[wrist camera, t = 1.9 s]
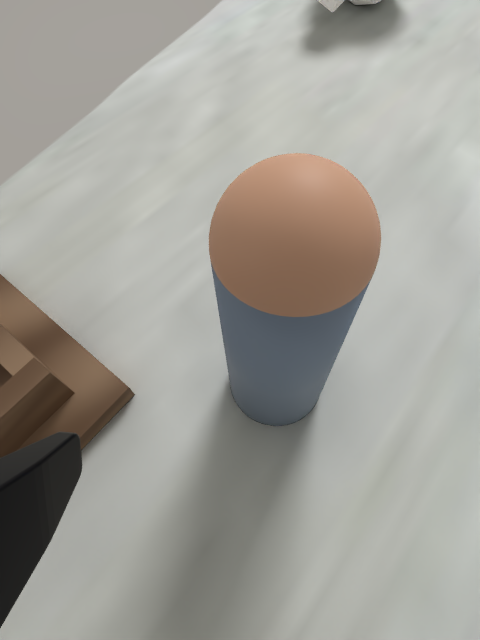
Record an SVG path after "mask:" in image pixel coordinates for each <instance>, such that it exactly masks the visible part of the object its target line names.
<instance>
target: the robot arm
mask: <svg viewBox="0 0 480 640" xmlns="http://www.w3.org/2000/svg"><path fill="white" fill-rule="evenodd" d="M81 471H82V457H81V444H80V437H79V435H78V434H77V433H71V432H57V433H55V434H53V435H50V436H48V437H46V438H44V439H41V440H39V441H37V442H35V443H32V444H30V445H28V446H26V447H24V448H21V449H19V450H17V451H15V452H12V453H10V454H8V455H6V456H3V457H1V458H0V628H1V626H2V624H3V623H4V621H5V619H6V617H7V616H8V614H9V612H10V610H11V609H12V607H13V605H14V604H15V602H16V600H17V598H18V597H19V595H20V593H21V592H22V590H23V588H24V586H25V585H26V583H27V581H28V579H29V578H30V576H31V574H32V573H33V571H34V569H35V567H36V566H37V564H38V562H39V561H40V559H41V557H42V555H43V554H44V552H45V550H46V548H47V546H48V545H49V543H50V541H51V539H52V537H53V535H54V533H55V531H56V528H57V526H58V524H59V522H60V520H61V517H62V515H63V513H64V511H65V509H66V506H67V504H68V502H69V500H70V498H71V495H72V493H73V491H74V489H75V486H76V484H77V482H78V480H79V478H80V475H81Z"/></svg>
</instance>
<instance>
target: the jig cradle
mask: <svg viewBox="0 0 480 640" xmlns="http://www.w3.org/2000/svg"><path fill="white" fill-rule="evenodd" d="M134 395H135V394H134V393H133V392H132V391H131V389H130V388H129V387H128V386H127V385H126V384H124V383H123V382H122V381H121V380H120V379H119V378H118V377H116V376H115V375H114V374H113V373H112V372H111V371H110V370H108V369H107V368H106V367H105V366H104V365H103V364H102V363H101V362H99V361H98V360H97V359H96V358H95V357H94V356H93V355H91V354H90V353H89V352H88V351H87V350H86V349H85V348H83V347H82V346H81V345H80V344H79V343H78V342H77V341H76V340H74V339H73V338H72V337H71V336H70V335H69V334H68V333H66V332H65V331H64V330H63V329H62V328H61V327H60V326H58V325H57V324H56V323H55V322H54V321H53V320H52V319H51V318H49V317H48V316H47V315H46V314H45V313H44V312H43V311H41V310H40V309H39V308H38V307H37V306H36V305H35V304H34V303H32V302H31V301H30V300H29V299H28V298H27V297H26V296H24V295H23V294H22V293H21V292H20V291H19V290H18V289H16V288H15V287H14V286H13V285H12V284H11V283H10V282H9V281H7V280H6V279H5V278H4V277H3V276H2V275H1V274H0V458H1V457H3V456H6V455H8V454H10V453H12V452H15V451H17V450H19V449H21V448H24V447H26V446H28V445H30V444H32V443H35V442H37V441H39V440H41V439H44V438H46V437H48V436H50V435H53V434H55V433H57V432H71V433H77V434H78V435H79V437H80V444H81V450H82V449H83V448H84V447H85V446H86V445H87V444H88V443H89V442H90V441H91V440H92V439H93V437H94V436H95V435H96V434H97V433H98V432H99V431H100V430H101V429H102V428H103V427H104V426H105V425H106V424H107V423H108V422H109V421H110V420H111V419H112V418H113V417H114V416H115V415H116V414H117V413H118V412H119V410H120V409H121V408H122V407H123V406H124V405H125V404H126V403H127V402H128V401H129V400H130V399H131V398H132V397H133V396H134Z"/></svg>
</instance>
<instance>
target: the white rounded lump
mask: <svg viewBox="0 0 480 640" xmlns="http://www.w3.org/2000/svg"><path fill="white" fill-rule="evenodd" d="M317 1H318V2H320V3H321V4H322V5H323V6H325V7H326V8H327V9H328V10H330V11H331V12H332V13H333V12H334V11H335V10H336V9H337V8H338V7H339V6H340V5H341V4H342V3H343V2H344V1H345V0H317ZM349 1H350V2H352V3H353V4H355V5H363V4H376V3H378V2H380V1H381V0H349Z"/></svg>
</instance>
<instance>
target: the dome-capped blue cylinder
mask: <svg viewBox="0 0 480 640" xmlns="http://www.w3.org/2000/svg"><path fill="white" fill-rule="evenodd" d="M380 245H381V230H380V222H379V218H378V214H377V211H376V208H375V205H374V203H373V201H372V199H371V197H370V195H369V194H368V192H367V191H366V189H365V187H364V186H363V185H362V184H361V182H360V181H359V180H358V179H357V178H356V177H355V176H354V175H353V174H351V173H350V172H349V171H348V170H346V169H345V168H344V167H342V166H341V165H339V164H337V163H335V162H333V161H331V160H329V159H326V158H323V157H320V156H315V155H311V154H301V153H294V154H284V155H278V156H274V157H270V158H268V159H265V160H263V161H260V162H258V163H256V164H255V165H253V166H251V167H250V168H248V169H246V170H245V171H244V172H243V173H241V174H240V175H239V176H238V177H237V178H236V179H235V180H234V181H233V182H232V183H231V184H230V185H229V187H228V188H227V189H226V191H225V192H224V194H223V195H222V197H221V198H220V200H219V202H218V204H217V206H216V209H215V212H214V214H213V217H212V220H211V226H210V232H209V253H210V259H211V266H212V272H213V278H214V285H215V291H216V297H217V304H218V310H219V316H220V323H221V329H222V335H223V342H224V348H225V354H226V361H227V367H228V373H229V380H230V386H231V391H232V395H233V397H234V400H235V402H236V403H237V405H238V406H239V408H240V409H241V410H242V411H243V412H244V413H245V414H246V415H247V416H249V417H250V418H252V419H253V420H255V421H257V422H260V423H262V424H266V425H273V426H282V425H288V424H291V423H294V422H296V421H298V420H300V419H302V418H303V417H305V416H306V415H307V414H308V413H309V412H310V411H311V410H312V409H313V407H314V406H315V404H316V402H317V400H318V398H319V396H320V393H321V391H322V389H323V387H324V384H325V382H326V380H327V378H328V375H329V373H330V371H331V369H332V366H333V364H334V362H335V360H336V357H337V355H338V353H339V351H340V348H341V346H342V344H343V342H344V339H345V337H346V335H347V332H348V330H349V328H350V326H351V323H352V321H353V319H354V317H355V314H356V312H357V310H358V308H359V305H360V303H361V301H362V299H363V296H364V294H365V292H366V290H367V287H368V285H369V283H370V281H371V278H372V276H373V274H374V271H375V269H376V265H377V262H378V258H379V255H380Z"/></svg>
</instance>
